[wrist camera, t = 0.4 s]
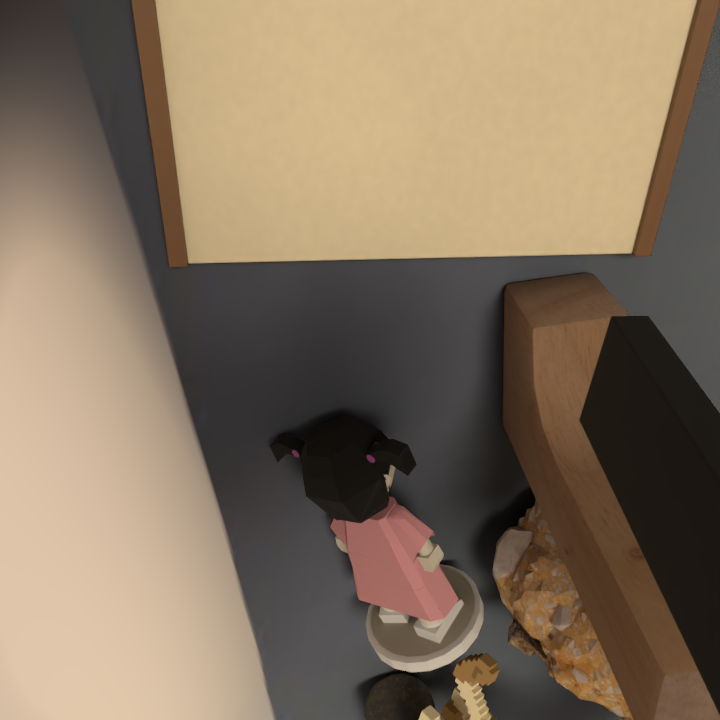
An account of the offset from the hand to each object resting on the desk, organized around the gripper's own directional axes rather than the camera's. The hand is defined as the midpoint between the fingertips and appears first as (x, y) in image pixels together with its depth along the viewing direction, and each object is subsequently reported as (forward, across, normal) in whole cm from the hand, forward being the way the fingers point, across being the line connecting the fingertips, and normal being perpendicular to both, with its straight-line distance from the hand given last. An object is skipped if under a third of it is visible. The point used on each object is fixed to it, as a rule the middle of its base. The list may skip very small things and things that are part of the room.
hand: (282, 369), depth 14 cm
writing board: (+18, +5, 0) cm, 19 cm away
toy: (+12, +8, -29) cm, 32 cm away
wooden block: (+18, +13, -12) cm, 25 cm away
